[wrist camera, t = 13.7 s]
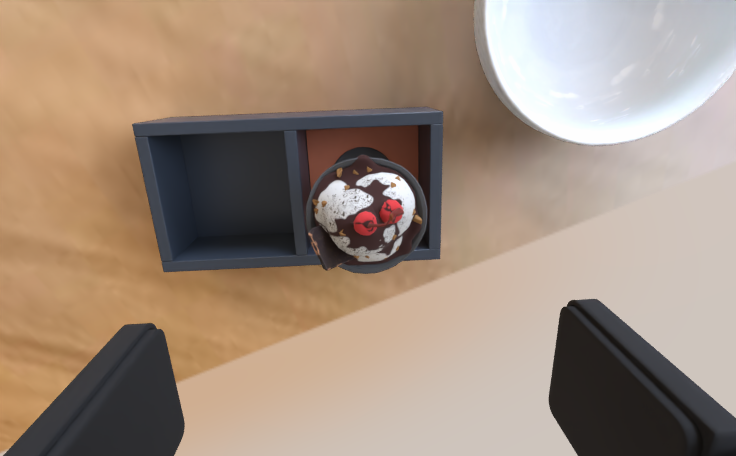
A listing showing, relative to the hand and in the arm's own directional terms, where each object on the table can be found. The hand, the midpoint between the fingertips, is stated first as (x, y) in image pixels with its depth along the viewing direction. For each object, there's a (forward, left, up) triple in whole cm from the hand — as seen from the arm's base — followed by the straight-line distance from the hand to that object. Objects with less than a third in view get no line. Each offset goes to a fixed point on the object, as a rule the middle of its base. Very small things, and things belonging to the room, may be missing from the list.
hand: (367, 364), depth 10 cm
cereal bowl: (+16, +10, -25) cm, 31 cm away
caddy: (-4, -1, -25) cm, 25 cm away
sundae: (0, -1, -24) cm, 24 cm away
